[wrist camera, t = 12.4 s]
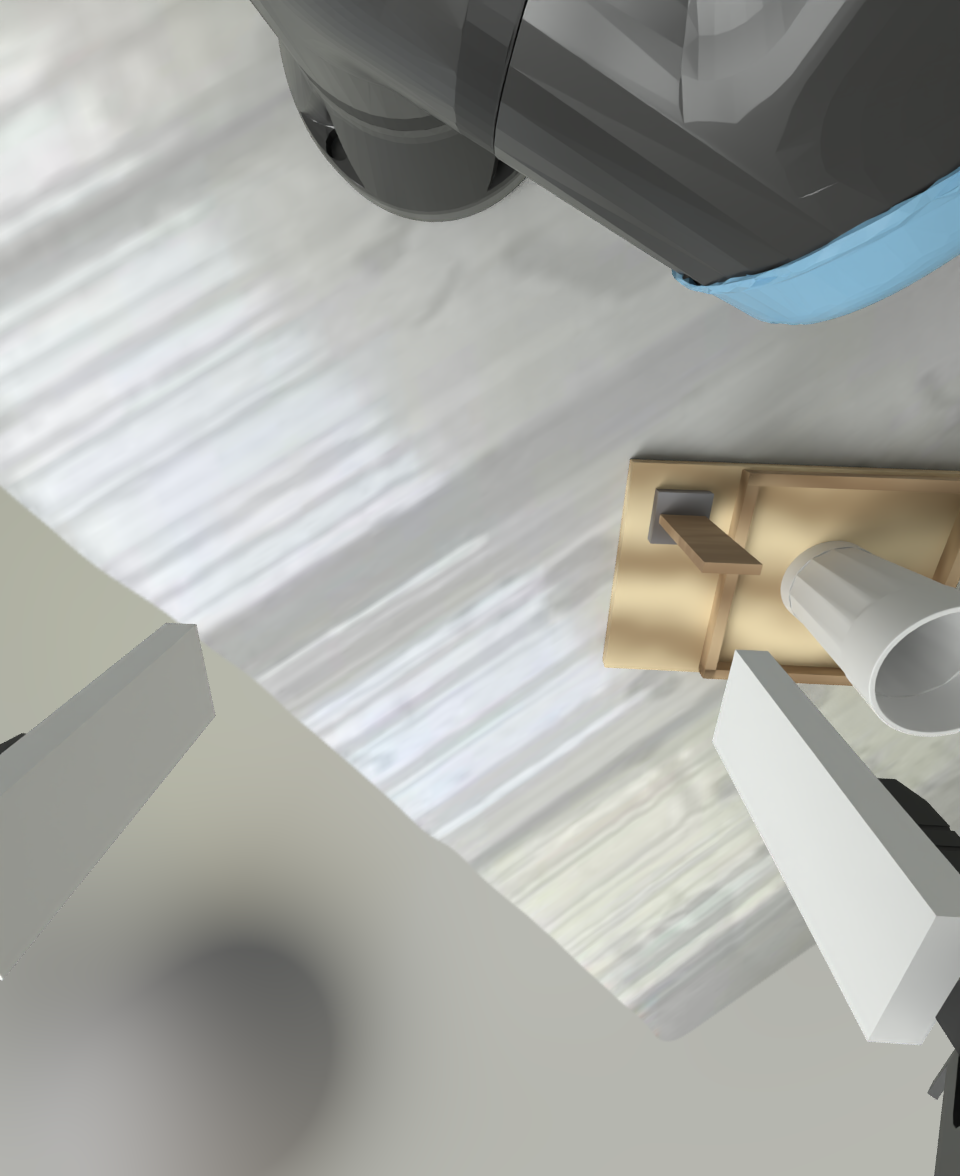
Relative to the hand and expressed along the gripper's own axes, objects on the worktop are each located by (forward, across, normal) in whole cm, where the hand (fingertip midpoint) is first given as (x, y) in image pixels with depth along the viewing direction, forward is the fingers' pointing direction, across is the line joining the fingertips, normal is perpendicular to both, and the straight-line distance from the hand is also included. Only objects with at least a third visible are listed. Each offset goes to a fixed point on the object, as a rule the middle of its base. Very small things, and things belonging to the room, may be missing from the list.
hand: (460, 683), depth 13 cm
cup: (+26, +24, -7) cm, 36 cm away
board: (+27, +21, -7) cm, 35 cm away
